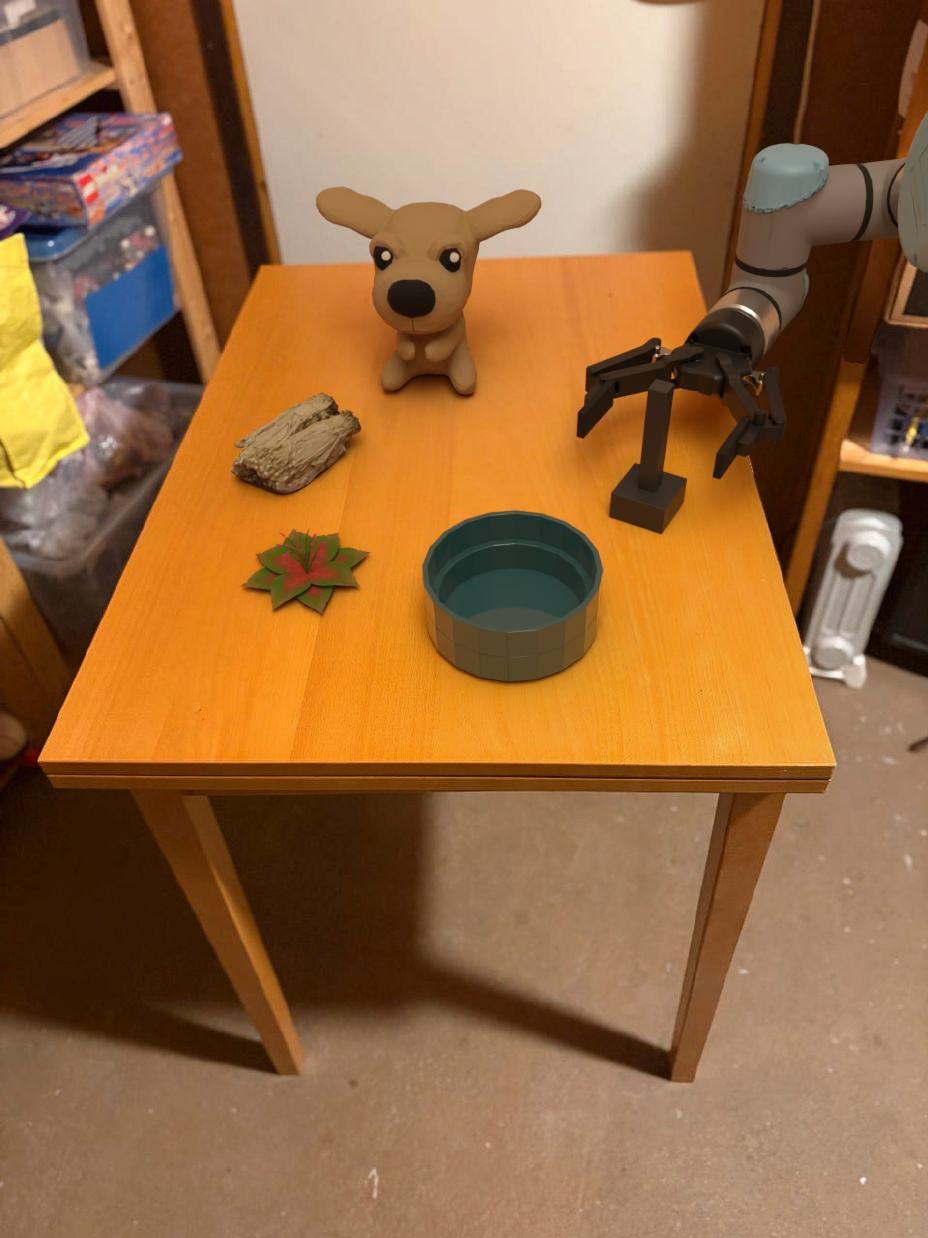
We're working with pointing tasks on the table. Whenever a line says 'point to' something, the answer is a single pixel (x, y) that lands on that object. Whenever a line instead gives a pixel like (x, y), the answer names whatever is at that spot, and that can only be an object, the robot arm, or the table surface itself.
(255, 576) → the lily flower
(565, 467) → the table surface
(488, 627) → the bowl
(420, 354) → the toy
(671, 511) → the post on square base
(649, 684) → the table surface
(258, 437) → the weathered wood chunk
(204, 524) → the table surface
